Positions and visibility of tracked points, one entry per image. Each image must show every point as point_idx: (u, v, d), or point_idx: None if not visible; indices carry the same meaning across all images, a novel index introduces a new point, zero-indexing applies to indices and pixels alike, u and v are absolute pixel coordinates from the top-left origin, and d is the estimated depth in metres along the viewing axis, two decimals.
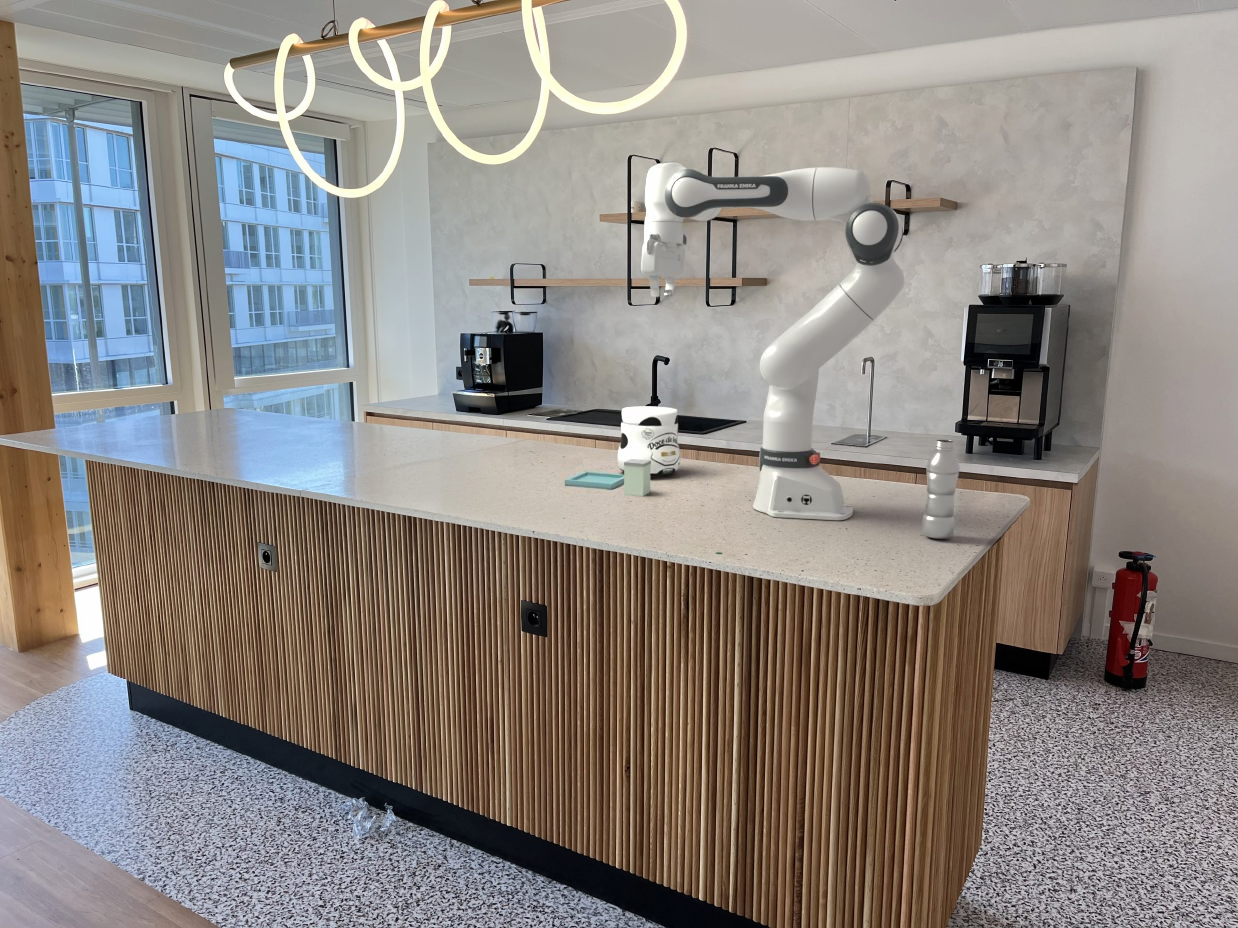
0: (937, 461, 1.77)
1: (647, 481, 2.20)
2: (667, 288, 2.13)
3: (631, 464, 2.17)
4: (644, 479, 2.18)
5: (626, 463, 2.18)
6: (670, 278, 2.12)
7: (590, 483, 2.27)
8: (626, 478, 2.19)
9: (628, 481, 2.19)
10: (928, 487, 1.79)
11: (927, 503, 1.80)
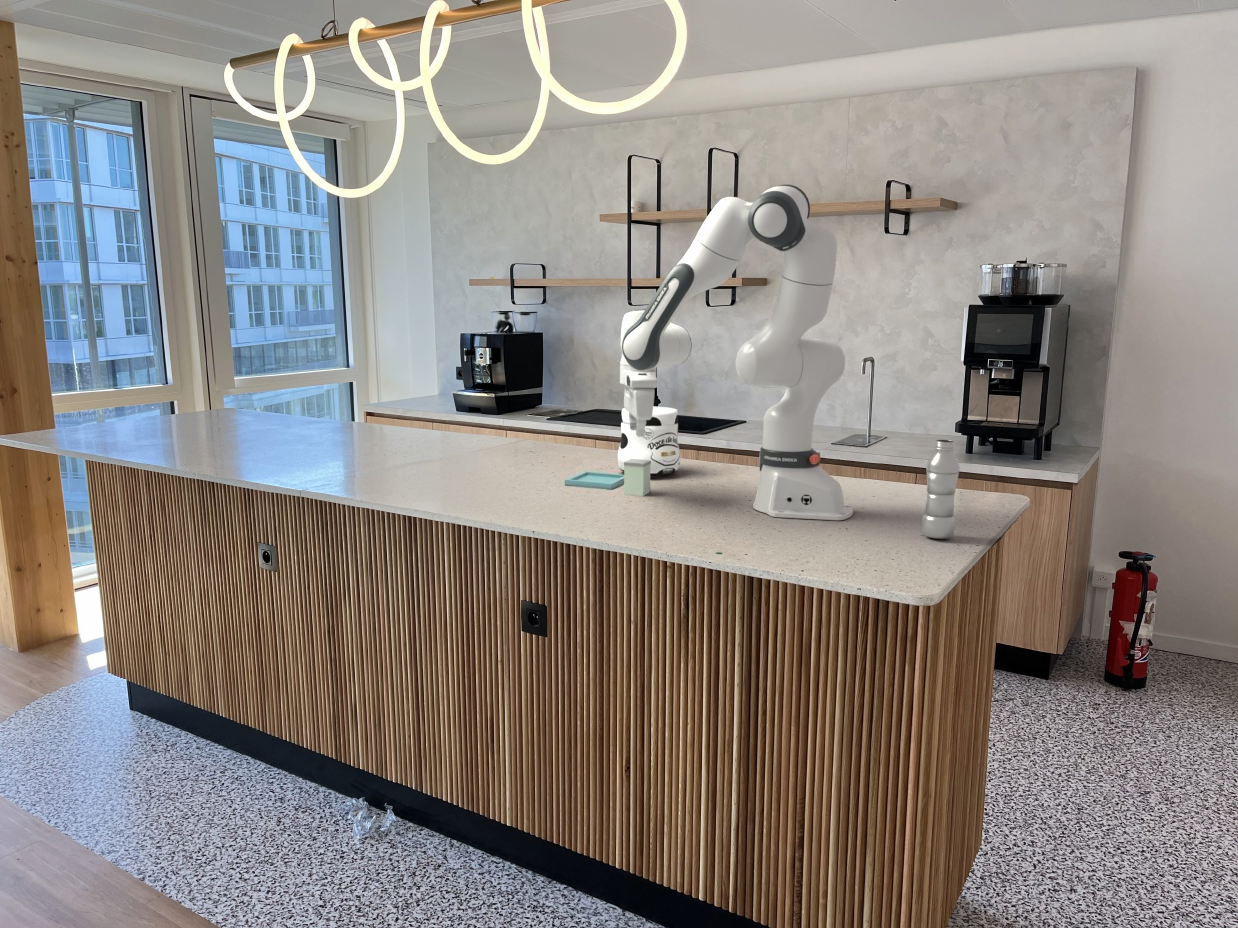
0: (938, 461, 1.77)
1: (647, 481, 2.20)
2: None
3: (631, 464, 2.17)
4: (644, 479, 2.18)
5: (626, 463, 2.18)
6: None
7: (590, 483, 2.27)
8: (626, 478, 2.19)
9: (628, 481, 2.19)
10: (928, 487, 1.79)
11: (927, 503, 1.80)
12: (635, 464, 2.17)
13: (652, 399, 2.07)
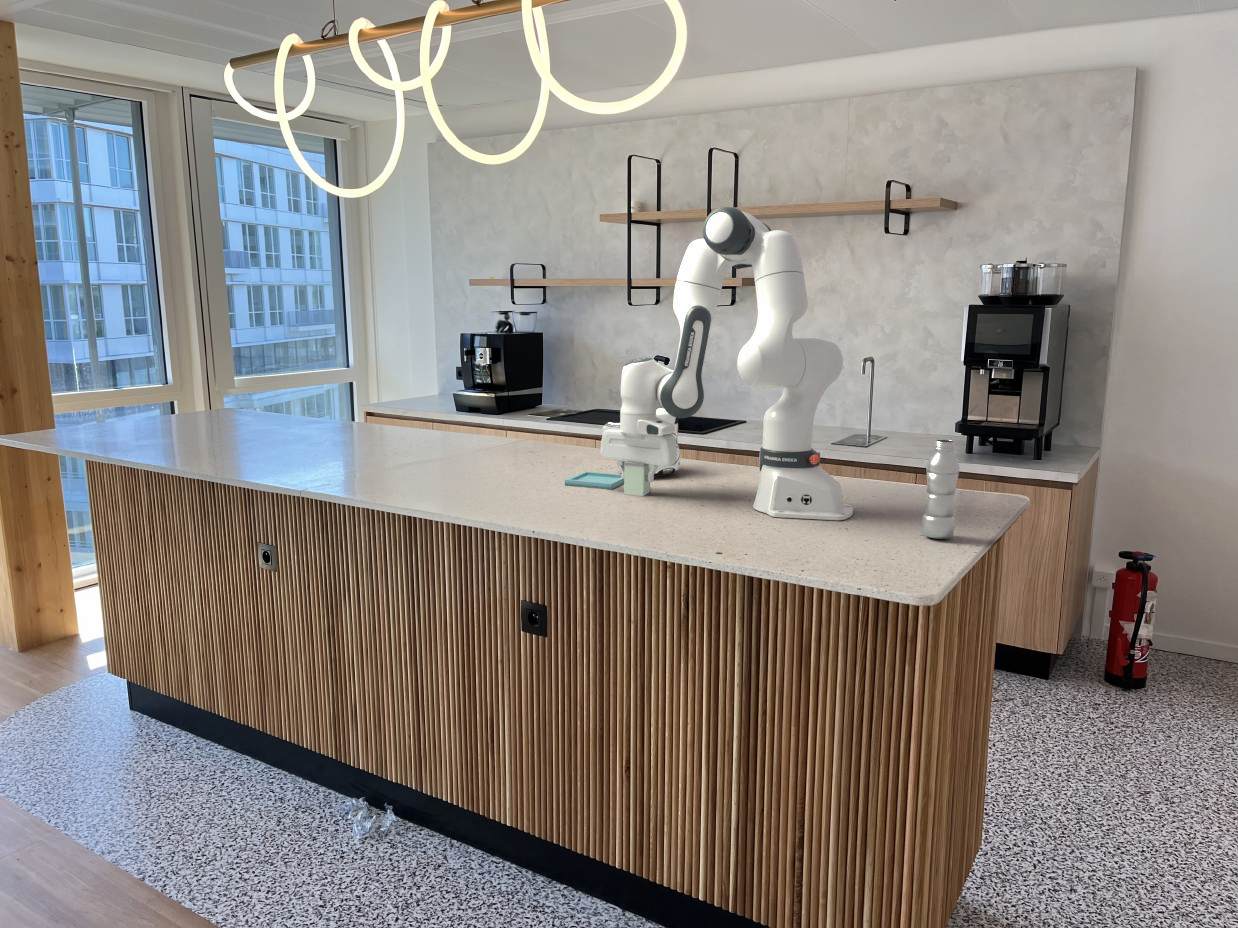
0: (937, 461, 1.77)
1: None
2: None
3: (631, 464, 2.17)
4: None
5: (626, 463, 2.18)
6: None
7: (590, 483, 2.27)
8: (627, 478, 2.19)
9: (628, 481, 2.18)
10: (928, 487, 1.79)
11: (927, 503, 1.80)
12: (635, 464, 2.17)
13: None
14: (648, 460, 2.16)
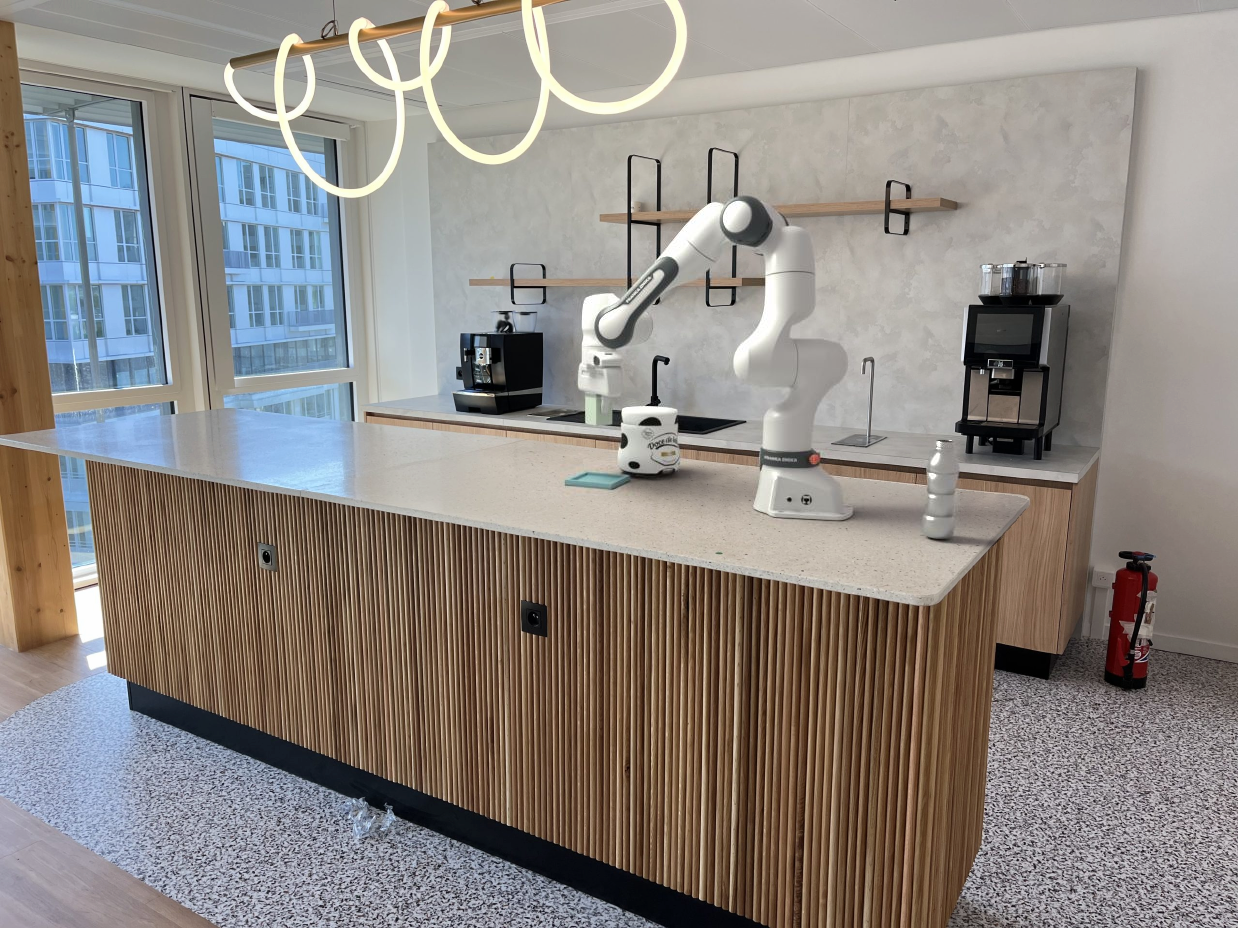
0: (938, 461, 1.77)
1: None
2: None
3: (589, 394, 2.28)
4: (599, 410, 2.27)
5: (586, 393, 2.29)
6: None
7: (590, 483, 2.27)
8: (586, 408, 2.30)
9: (587, 410, 2.30)
10: (928, 487, 1.79)
11: (927, 503, 1.80)
12: (591, 394, 2.27)
13: (621, 377, 2.21)
14: (598, 391, 2.25)
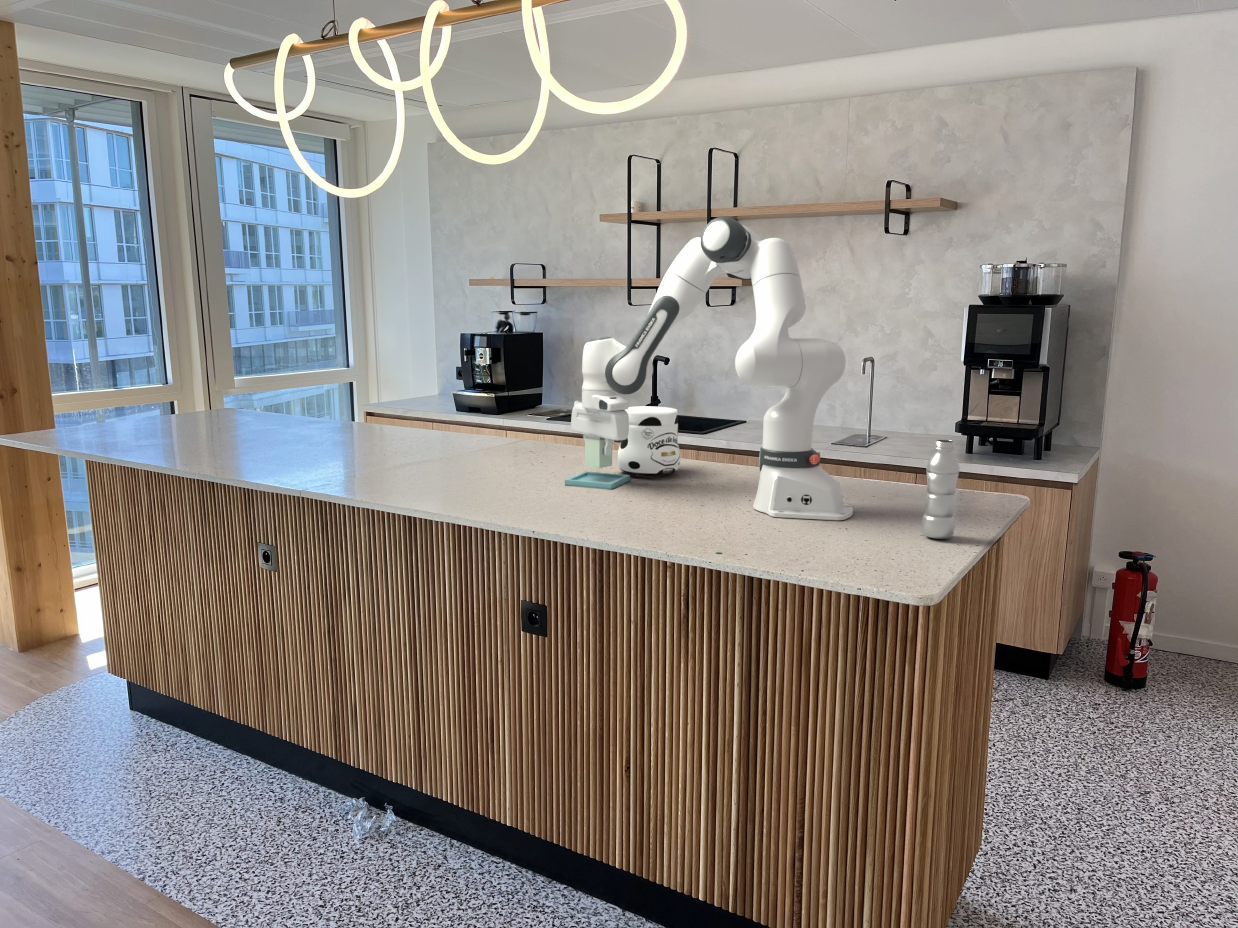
0: (937, 461, 1.77)
1: None
2: None
3: (590, 437, 2.30)
4: None
5: (586, 436, 2.31)
6: None
7: (590, 483, 2.27)
8: (587, 450, 2.31)
9: (588, 453, 2.31)
10: (928, 487, 1.79)
11: (927, 503, 1.80)
12: (593, 437, 2.29)
13: (628, 420, 2.24)
14: (603, 434, 2.27)
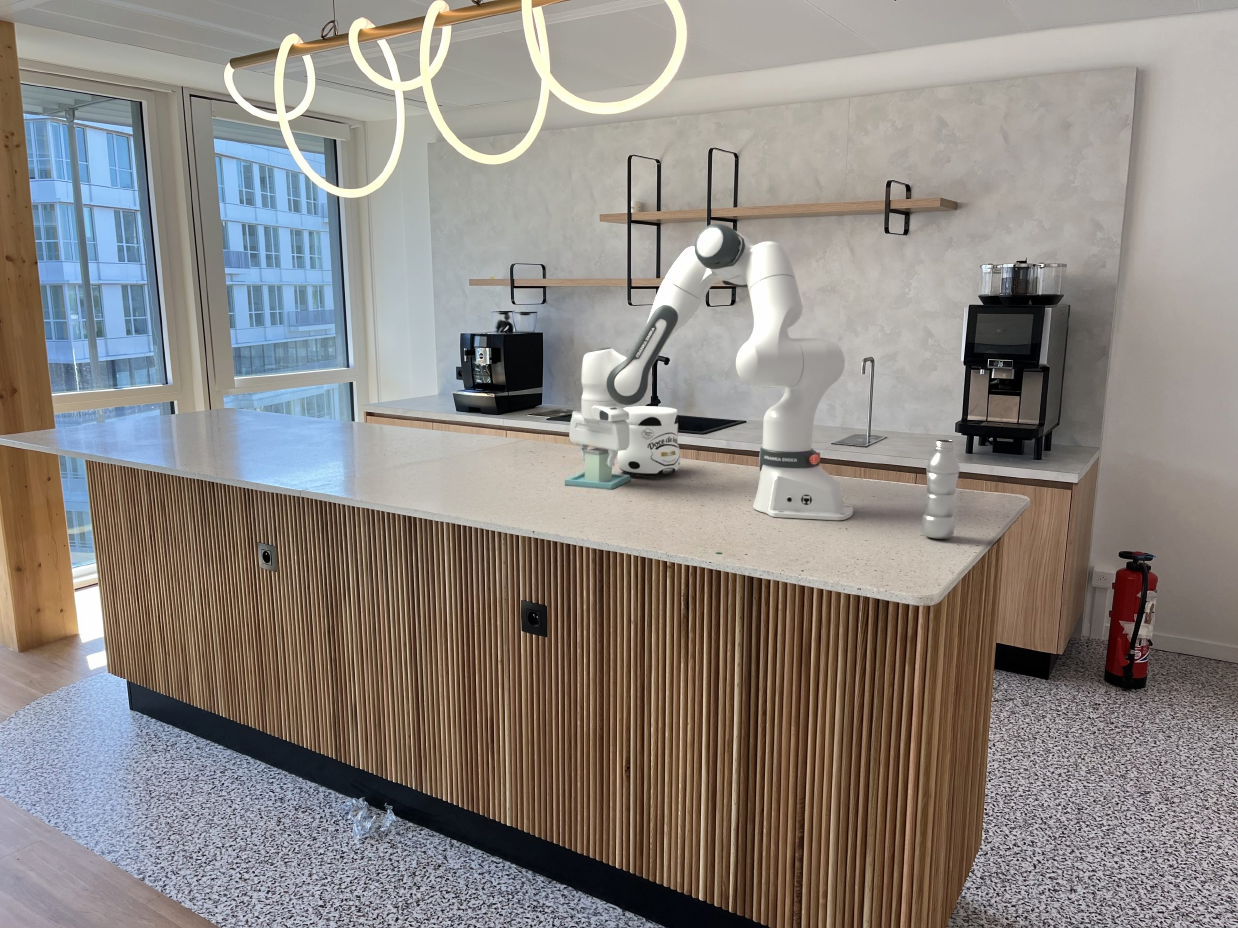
0: (938, 461, 1.77)
1: (606, 469, 2.31)
2: None
3: (589, 452, 2.30)
4: (601, 467, 2.30)
5: (586, 451, 2.31)
6: None
7: (590, 483, 2.27)
8: (586, 465, 2.32)
9: (587, 468, 2.32)
10: (928, 487, 1.79)
11: (927, 503, 1.80)
12: (592, 452, 2.30)
13: (628, 430, 2.25)
14: (603, 444, 2.27)
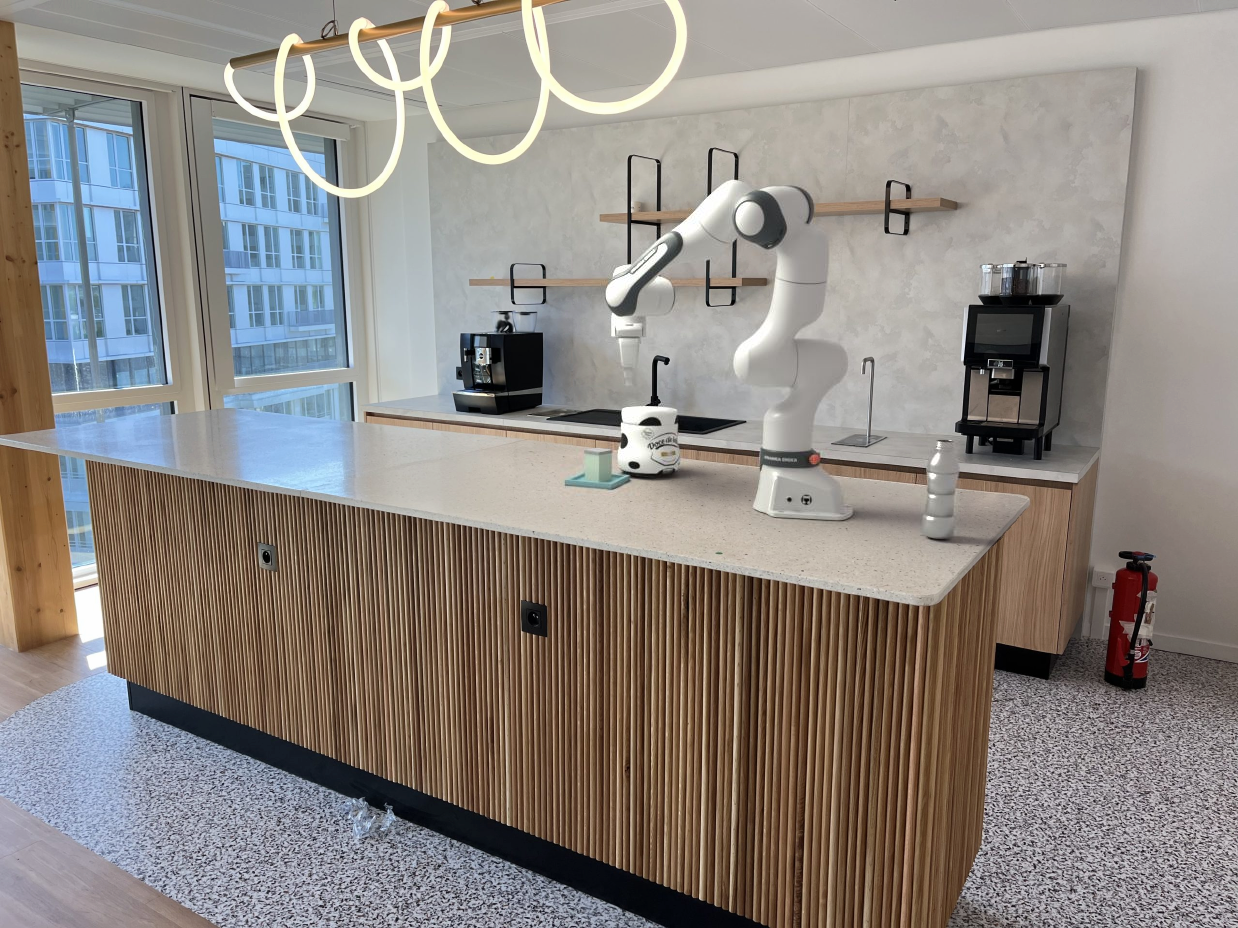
0: (937, 461, 1.77)
1: (606, 469, 2.31)
2: None
3: (589, 452, 2.30)
4: (601, 467, 2.30)
5: (586, 451, 2.31)
6: None
7: (590, 483, 2.27)
8: (586, 465, 2.32)
9: (587, 468, 2.32)
10: (928, 487, 1.79)
11: (927, 503, 1.80)
12: (592, 452, 2.30)
13: (637, 347, 2.17)
14: None
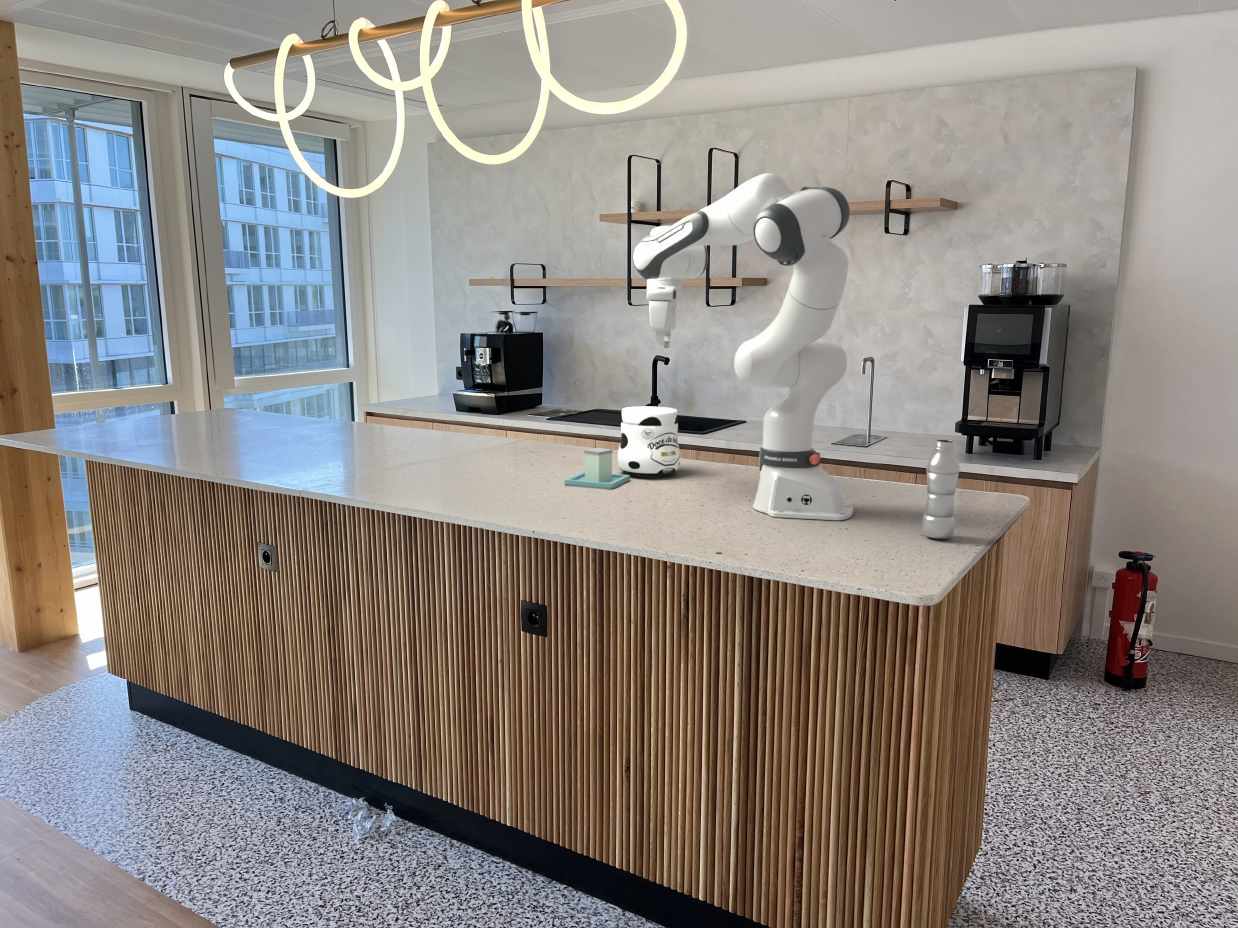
0: (938, 461, 1.77)
1: (606, 469, 2.31)
2: None
3: (589, 452, 2.30)
4: (601, 467, 2.30)
5: (586, 451, 2.31)
6: None
7: (590, 483, 2.27)
8: (586, 465, 2.32)
9: (587, 468, 2.32)
10: (928, 487, 1.79)
11: (927, 503, 1.80)
12: (592, 452, 2.30)
13: (666, 310, 2.14)
14: None
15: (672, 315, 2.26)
